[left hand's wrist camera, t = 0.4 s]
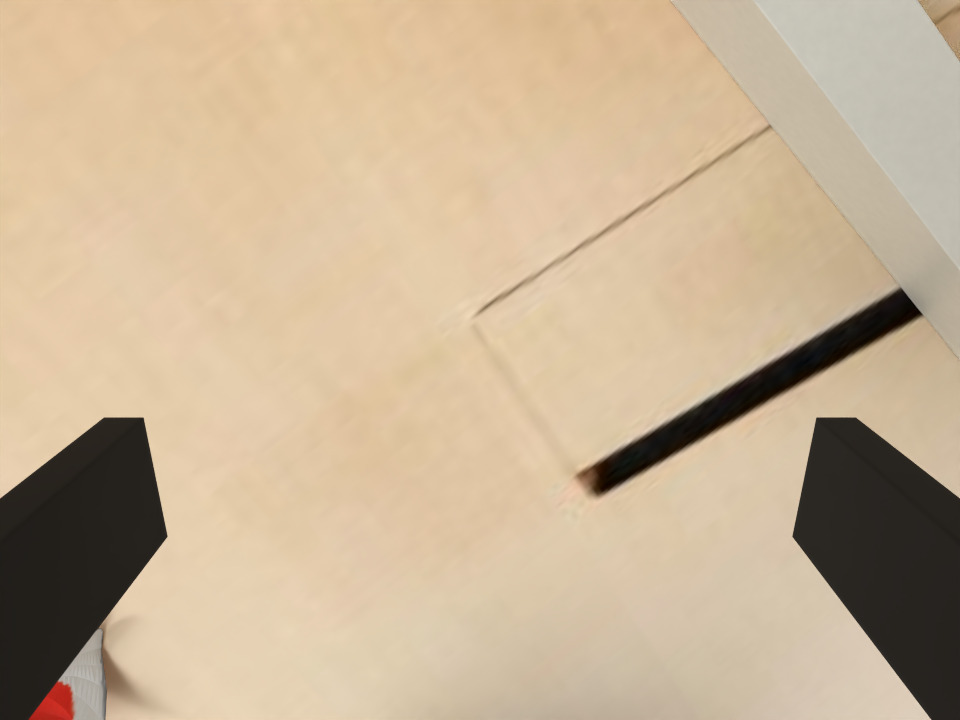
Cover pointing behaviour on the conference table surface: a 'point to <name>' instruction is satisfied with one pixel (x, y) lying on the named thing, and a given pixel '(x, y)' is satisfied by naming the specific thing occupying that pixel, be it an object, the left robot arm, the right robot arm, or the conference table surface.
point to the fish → (78, 687)
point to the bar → (861, 122)
